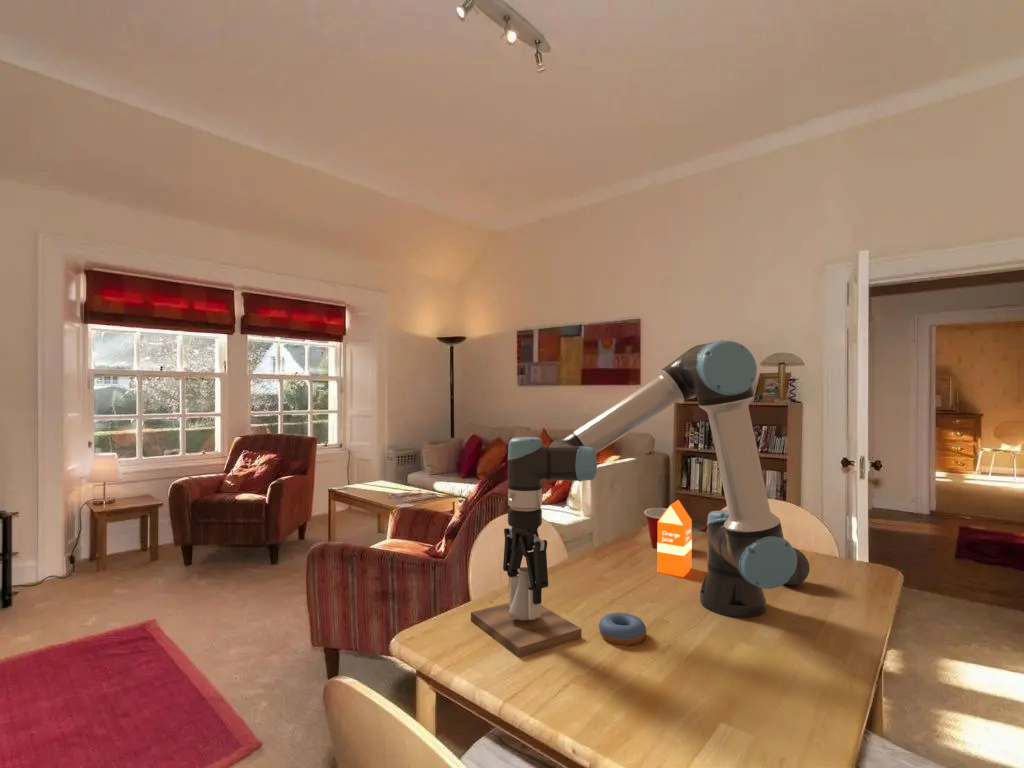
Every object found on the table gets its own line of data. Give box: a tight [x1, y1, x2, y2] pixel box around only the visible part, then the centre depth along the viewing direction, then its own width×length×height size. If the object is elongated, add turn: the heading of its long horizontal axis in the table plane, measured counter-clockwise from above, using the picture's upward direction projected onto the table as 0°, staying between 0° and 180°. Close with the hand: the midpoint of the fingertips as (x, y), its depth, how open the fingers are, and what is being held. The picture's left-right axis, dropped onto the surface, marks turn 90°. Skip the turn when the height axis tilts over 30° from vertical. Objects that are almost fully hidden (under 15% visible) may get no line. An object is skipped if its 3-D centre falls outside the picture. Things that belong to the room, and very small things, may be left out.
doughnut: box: [598, 612, 647, 646], centre depth 118 cm, size 10×10×5 cm
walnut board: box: [470, 602, 582, 659], centre depth 121 cm, size 20×16×2 cm
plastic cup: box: [644, 507, 668, 550], centre depth 183 cm, size 11×11×12 cm
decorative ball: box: [784, 547, 810, 586], centre depth 150 cm, size 10×10×10 cm
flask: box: [509, 566, 536, 620], centre depth 121 cm, size 7×7×10 cm
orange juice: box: [656, 499, 693, 578], centre depth 160 cm, size 8×9×20 cm
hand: (524, 611), depth 121 cm, fingers closed on flask, 7 cm apart
